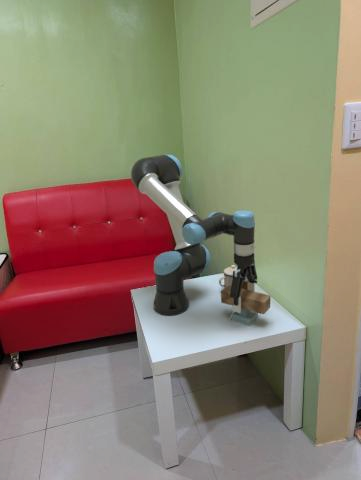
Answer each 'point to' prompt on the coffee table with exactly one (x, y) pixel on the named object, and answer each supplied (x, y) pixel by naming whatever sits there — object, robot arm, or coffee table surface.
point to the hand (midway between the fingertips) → (244, 304)
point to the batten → (248, 300)
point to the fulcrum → (244, 316)
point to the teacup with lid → (228, 276)
